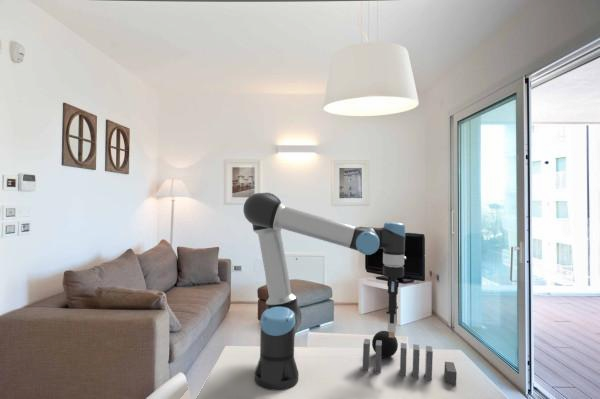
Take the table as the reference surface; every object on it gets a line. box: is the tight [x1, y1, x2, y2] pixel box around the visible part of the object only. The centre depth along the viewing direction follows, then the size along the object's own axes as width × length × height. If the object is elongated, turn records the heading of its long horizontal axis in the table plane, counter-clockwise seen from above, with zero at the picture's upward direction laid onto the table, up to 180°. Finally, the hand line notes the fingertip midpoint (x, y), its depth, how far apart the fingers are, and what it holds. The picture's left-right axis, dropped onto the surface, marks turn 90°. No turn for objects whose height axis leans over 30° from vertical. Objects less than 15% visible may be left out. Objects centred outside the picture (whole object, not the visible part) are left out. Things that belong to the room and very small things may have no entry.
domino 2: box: [374, 340, 383, 374], centre depth 145 cm, size 2×5×10 cm, turn 166°
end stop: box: [443, 361, 457, 386], centre depth 139 cm, size 3×8×4 cm, turn 166°
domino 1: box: [362, 338, 371, 372], centre depth 146 cm, size 2×5×10 cm, turn 165°
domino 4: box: [399, 342, 408, 377], centre depth 143 cm, size 2×5×10 cm, turn 166°
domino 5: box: [411, 343, 420, 379], centre depth 142 cm, size 2×5×10 cm, turn 166°
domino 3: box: [389, 332, 396, 338], centre depth 143 cm, size 2×5×10 cm, turn 166°
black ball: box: [371, 330, 399, 358], centre depth 157 cm, size 10×10×10 cm
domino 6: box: [424, 345, 434, 381], centre depth 141 cm, size 2×5×10 cm, turn 166°
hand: (391, 328), depth 143 cm, fingers closed on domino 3, 5 cm apart
